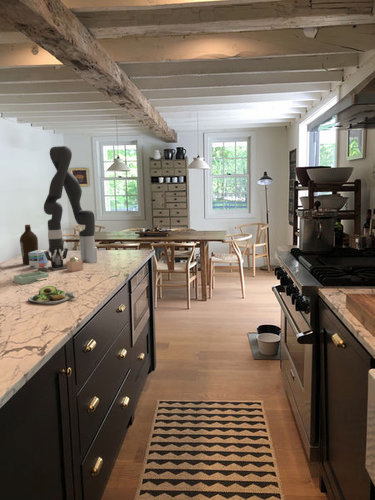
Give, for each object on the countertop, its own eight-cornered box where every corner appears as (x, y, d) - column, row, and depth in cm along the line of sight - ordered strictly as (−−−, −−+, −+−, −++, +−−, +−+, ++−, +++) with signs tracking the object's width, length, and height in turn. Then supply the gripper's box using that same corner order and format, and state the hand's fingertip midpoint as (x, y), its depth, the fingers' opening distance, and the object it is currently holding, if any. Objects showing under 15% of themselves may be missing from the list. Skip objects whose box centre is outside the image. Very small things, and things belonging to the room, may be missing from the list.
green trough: (40, 276, 210) (40, 271, 209) (48, 279, 203) (48, 273, 202) (14, 281, 200) (13, 275, 199) (22, 284, 193) (21, 278, 192)
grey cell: (59, 267, 225) (58, 254, 224) (62, 268, 223) (61, 254, 221) (52, 268, 223) (51, 254, 221) (55, 269, 220) (54, 255, 219)
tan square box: (77, 270, 223) (76, 259, 222) (83, 272, 219) (82, 260, 218) (67, 272, 219) (66, 260, 218) (72, 274, 214) (72, 262, 213)
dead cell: (77, 269, 221) (75, 256, 220) (79, 270, 218) (78, 256, 217) (70, 271, 219) (68, 257, 217) (73, 272, 216) (71, 258, 214)
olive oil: (39, 261, 256) (36, 223, 252) (40, 264, 246) (36, 225, 242) (21, 262, 252) (18, 224, 248) (21, 265, 242) (18, 225, 238)
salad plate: (86, 296, 170) (86, 286, 170) (59, 308, 154) (58, 296, 153) (51, 292, 178) (51, 283, 177) (22, 303, 161) (21, 292, 161)
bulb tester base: (61, 268, 230) (61, 263, 229) (70, 270, 223) (69, 265, 222) (31, 273, 217) (31, 268, 217) (39, 276, 210) (39, 270, 210)
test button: (43, 265, 218) (43, 262, 218) (46, 266, 216) (45, 263, 216) (38, 266, 216) (37, 263, 216) (40, 267, 214) (40, 264, 213)
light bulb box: (39, 271, 225) (38, 252, 223) (29, 270, 226) (27, 252, 224) (49, 267, 235) (48, 249, 233) (39, 267, 236) (38, 249, 235)
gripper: (46, 239, 212) (48, 269, 215) (69, 236, 222) (72, 265, 225) (40, 238, 217) (42, 268, 220) (63, 235, 227) (65, 264, 230)
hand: (57, 266), depth 223 cm, fingers closed on grey cell, 4 cm apart
